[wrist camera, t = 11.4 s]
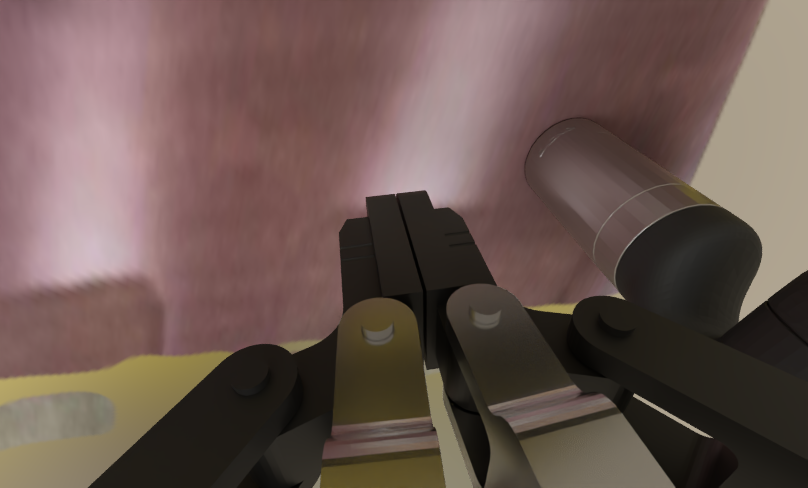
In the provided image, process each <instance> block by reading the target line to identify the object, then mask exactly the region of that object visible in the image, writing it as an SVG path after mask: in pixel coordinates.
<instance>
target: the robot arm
mask: <svg viewBox="0 0 808 488" xmlns="http://www.w3.org/2000/svg"><path fill="white" fill-rule="evenodd" d="M525 175H526V180H527V182H528V184H529V186H530V187H531V188H532V189H533V191H534V192H535V193H536V194H537V195H538V197H539V198H540V199H541V200H542V201H543V203H544V204H545V205H546V206H547V208H548V209H549V210H550V211H551V212H552V214H553V215H554V216H555V217H556V218H557V219H558V221H559V222H560V223H561V224H562V225H563V227H564V228H565V229H566V230H567V231H568V233H569V234H570V235H571V236H572V237H573V238H574V240H575V241H576V242H577V243H578V244H579V246H580V247H581V248H582V249H583V250H584V251H585V253H586V254H587V255H588V256H589V257H590V259H591V260H592V261H593V262H594V263H595V264H596V266H597V267H598V268H599V269H600V270H601V271H602V272H603V274H604V275H605V276H606V277H607V278H608V280H609V281H610V282H611V283H612V284H613V285H614V287H615V288H616V289H617V290H618V291H619V292H620V294H621V295H622V296H623V297H624V298H625V300H623V299H619V298H616V297H610V296H593V297H589V298H586V299H584V300H582V301H580V302H579V303H578V304H577V305H576V307H575V308H574V311H573V314H572V315H571V314H561V313H553V312H543V311H537V310H532V309H528V308H525V307H523V306H522V304H521V302H520V301H519V300H518V299H517V298H516V297H515V296H514V295H513V294H512V293H510V292H509V291H507V290H505V289H503V288H501V287H498V286H497V285H496V283H495V281H494V279H493V277H492V275H491V273H490V271H489V269H488V267H487V265H486V263H485V261H484V259H483V257H482V255H481V253H480V251H479V249H478V247H477V245H475V241H474V239H473V237H472V235H471V234H469V230H468V228H467V226H466V224H465V222H464V220H463V218H462V217H461V216H459V215H458V214H457V213H455V212H454V211H453V210H451V209H450V208H449V207H448V208H440V209H434V208H433V206H432V203H431V201H430V199H429V196H428V194H427V192H426V191H425V190H424V191H415V192H406V193H397V194H396V196H395V194H389V195H381V196H372V197H366V207H367V216H368V217H364V218H356V219H347V220H346V222H345V224H344V225H343V227H342V229H341V230H340V232H339V241H340V258H341V276H342V293H343V315H342V318H341V320H340V322H339V325H338V326H337V328H336V329H335V330H334V331H333V332H332V333H331V334H330V335H329V336H328V337H327V338H325V339H324V340H322V341H321V342H319V343H317V344H315V345H313V346H311V347H309V348H306V349H304V350H302V351H299V352H297V353H295V354H291V353H290V352H289V351H287V350H286V349H284V348H282V347H280V346H277V345H272V344H258V345H253V346H249V347H246V348H243V349H241V350H239V351H237V352H235V353H233V354H232V355H230V356H229V357H227V358H226V359H225V360H224V361H222V362H221V363H220V364H219V365H218V366H217V367H216V368H215V369H214V370H213V371H212V372H211V373H210V374H208V375H207V376H206V377H205V378H204V379H203V380H202V381H201V382H200V383H199V384H198V385H197V386H196V387H195V388H194V389H192V390H191V391H190V392H189V393H188V394H187V395H186V396H185V397H184V398H183V399H182V400H181V401H180V402H179V403H178V404H176V405H175V406H174V407H173V408H172V409H171V410H170V411H169V412H168V413H167V414H166V415H165V416H164V417H163V418H162V419H160V420H159V421H158V422H157V423H156V424H155V425H154V426H153V427H152V428H151V429H150V430H149V431H148V432H147V433H146V434H145V435H144V436H142V437H141V438H140V439H139V440H138V441H137V442H136V443H135V444H134V445H133V446H132V447H131V448H130V449H129V450H127V451H126V452H125V453H124V454H123V455H122V456H121V457H120V458H119V459H118V460H117V461H116V462H115V463H114V464H113V465H111V466H110V467H109V468H108V469H107V470H106V471H105V472H104V473H103V474H102V475H101V476H100V477H99V478H98V479H97V480H95V481H94V482H93V483H92V484H91V485H90V486H89V487H88V488H312V487H313V486H314V484H315V483H316V481H317V480H318V478H319V476H320V474H321V478H320V488H446V485H445V478H444V471H443V465H442V459H441V452H440V446H439V441H438V436H437V432H436V429H435V427H433V424H432V419H431V414H430V407H429V400H428V393H427V386H426V379H425V372H424V360H425V365H426V369H427V370H430V369H436V368H439V370H440V373H441V377H442V380H443V401H444V405H445V408H446V411H447V414H448V417H449V419H450V422H451V425H452V428H453V431H454V434H455V437H456V439H457V442H458V445H459V448H460V451H461V454H462V457H463V459H464V462H465V465H466V468H467V471H468V474H469V476H470V479H471V482H472V485H473V488H808V270H807V271H806V272H804V273H802V274H801V275H800V276H798V277H797V278H795V279H794V280H792V281H791V282H790V283H788V284H787V285H786V286H784V287H783V288H782V289H781V290H779V291H778V292H776V293H775V294H774V295H773V296H771V297H770V298H769V299H768V301H765V302H764V303H762V304H761V305H760V306H759V307H757V308H756V309H755V310H754V311H752V312H751V313H750V314H749V315H747V316H746V317H745V318H743V319H742V320H741V321H740V322H738V321H739V314H740V309H741V306H742V303H743V300H744V297H745V295H746V293H747V291H748V289H749V287H750V285H751V283H752V281H753V279H754V277H755V275H756V273H757V271H758V268H759V266H760V263H761V258H762V245H761V241H760V239H759V236H758V235H757V233H756V232H755V231H754V230H753V228H752V227H750V226H749V225H748V224H747V223H746V222H744V221H743V220H741V219H740V218H738V217H737V216H735V215H734V214H732V213H731V212H729V211H728V210H726V209H724V208H723V207H721V206H720V205H718V204H716V203H715V202H714V201H712V200H710V199H709V198H707V197H706V196H705V195H703V194H701V193H700V192H698V191H697V190H695V189H694V188H692V187H691V186H689V185H688V184H686V183H685V182H683V181H682V180H680V179H679V178H677V177H676V176H674V175H673V174H671V173H670V172H668V171H667V170H665V169H664V168H662V167H661V166H659V165H658V164H656V163H655V162H653V161H652V160H650V159H649V158H647V157H646V156H644V155H643V154H641V153H640V152H638V151H637V150H635V149H634V148H633V147H631V146H630V145H628V144H627V143H625V142H624V141H622V140H621V139H619V138H618V137H616V136H615V135H613V134H612V133H610V132H609V131H607V130H606V129H604V128H603V127H601V126H600V125H598V124H597V123H595V122H593V121H591V120H588V119H583V118H576V119H569V120H566V121H562V122H560V123H558V124H556V125H554V126H552V127H551V128H550V129H548V130H547V131H545V132H544V133H543V134H542V135H541V136H540V137H539V138H538V139H537V141H536V142H535V143H534V145H533V146H532V148H531V150H530V152H529V154H528V157H527V160H526V164H525ZM634 393H635V394H637V395H639V396H640V397H642V398H644V399H646V400H648V401H649V402H651V403H653V404H655V405H656V406H658V407H660V408H662V409H664V410H665V411H667V412H669V413H670V414H672V415H674V416H676V417H678V418H679V419H681V420H683V421H685V422H686V423H689V424H690V425H692V426H694V427H695V428H697V429H699V430H701V431H702V432H704V433H706V434H708V435H709V436H711V437H713V438H709V437H705V436H702V435H700V434H698V433H696V432H694V431H692V430H690V429H689V428H687V427H685V426H683V425H682V424H680V423H678V422H676V421H675V420H673V419H671V418H670V417H668V416H666V415H664V414H662V413H661V412H659V411H657V410H656V409H654V408H652V407H650V406H649V405H647V404H645V403H643V402H642V401H640V400H638V399H636V398H635V397H633V395H634Z"/></svg>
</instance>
